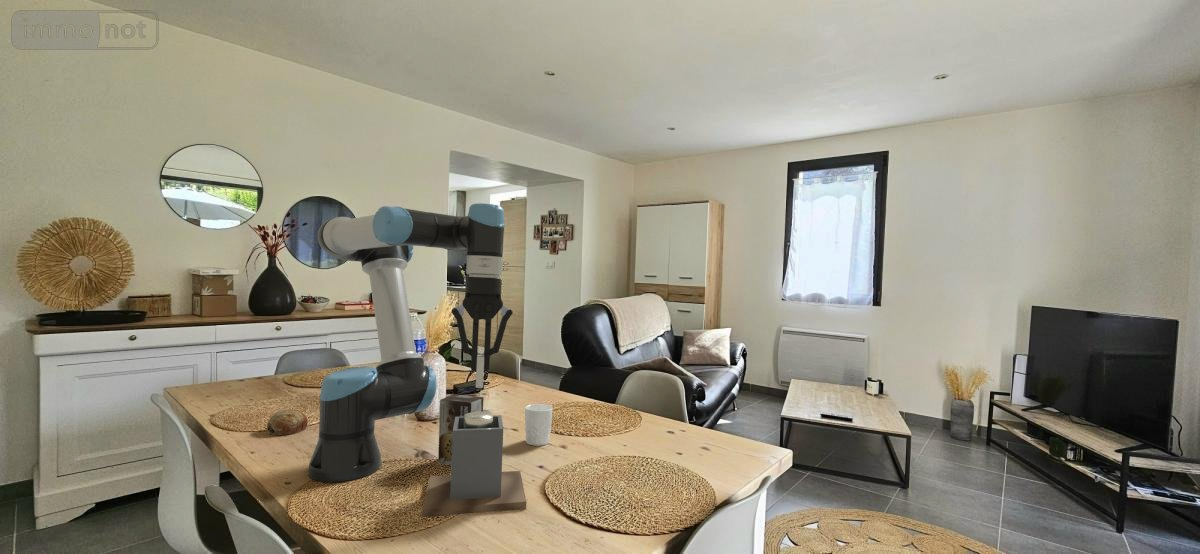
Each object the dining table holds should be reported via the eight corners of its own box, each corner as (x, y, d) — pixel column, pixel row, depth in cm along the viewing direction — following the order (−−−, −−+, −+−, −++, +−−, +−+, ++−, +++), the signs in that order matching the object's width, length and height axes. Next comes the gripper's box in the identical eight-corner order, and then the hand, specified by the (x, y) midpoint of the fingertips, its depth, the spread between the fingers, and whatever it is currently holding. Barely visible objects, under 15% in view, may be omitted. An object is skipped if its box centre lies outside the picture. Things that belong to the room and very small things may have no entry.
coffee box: (482, 459, 122) (485, 396, 122) (469, 468, 116) (471, 402, 116) (451, 455, 124) (453, 393, 125) (436, 463, 118) (439, 398, 118)
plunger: (456, 495, 97) (459, 421, 97) (458, 480, 104) (460, 411, 105) (494, 493, 99) (497, 419, 99) (493, 478, 106) (496, 410, 106)
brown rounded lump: (263, 443, 138) (253, 422, 134) (293, 420, 147) (284, 399, 143) (289, 448, 135) (279, 426, 132) (318, 424, 144) (309, 402, 141)
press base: (421, 517, 91) (421, 509, 91) (429, 482, 107) (430, 476, 107) (526, 509, 96) (526, 501, 96) (519, 477, 112) (520, 470, 112)
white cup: (549, 447, 133) (550, 411, 133) (521, 446, 133) (522, 410, 133) (552, 438, 141) (554, 404, 141) (526, 437, 141) (527, 403, 141)
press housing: (450, 500, 95) (452, 430, 96) (452, 480, 105) (455, 416, 105) (500, 496, 98) (503, 428, 98) (498, 477, 108) (501, 415, 108)
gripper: (451, 275, 97) (446, 390, 97) (516, 277, 100) (511, 389, 100) (453, 275, 104) (448, 382, 104) (513, 277, 107) (509, 382, 107)
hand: (479, 386), depth 102 cm, fingers closed
